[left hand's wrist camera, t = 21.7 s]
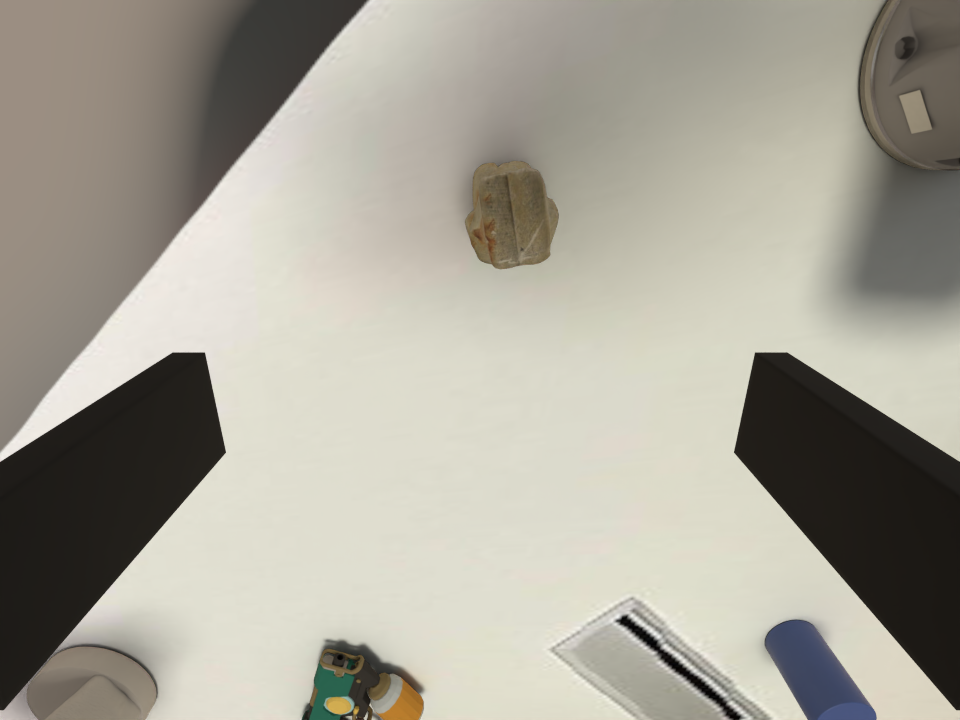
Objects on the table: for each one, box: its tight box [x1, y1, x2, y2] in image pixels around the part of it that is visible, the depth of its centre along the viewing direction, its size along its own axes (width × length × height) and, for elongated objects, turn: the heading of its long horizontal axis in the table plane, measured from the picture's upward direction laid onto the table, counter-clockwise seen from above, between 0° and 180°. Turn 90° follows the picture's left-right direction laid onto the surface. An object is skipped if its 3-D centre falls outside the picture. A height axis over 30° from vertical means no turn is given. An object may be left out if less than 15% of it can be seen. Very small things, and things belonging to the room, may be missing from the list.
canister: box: [765, 620, 876, 720], centre depth 53 cm, size 6×6×9 cm
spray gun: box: [302, 649, 424, 720], centre depth 59 cm, size 4×17×15 cm
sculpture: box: [465, 161, 559, 269], centre depth 33 cm, size 6×7×15 cm
